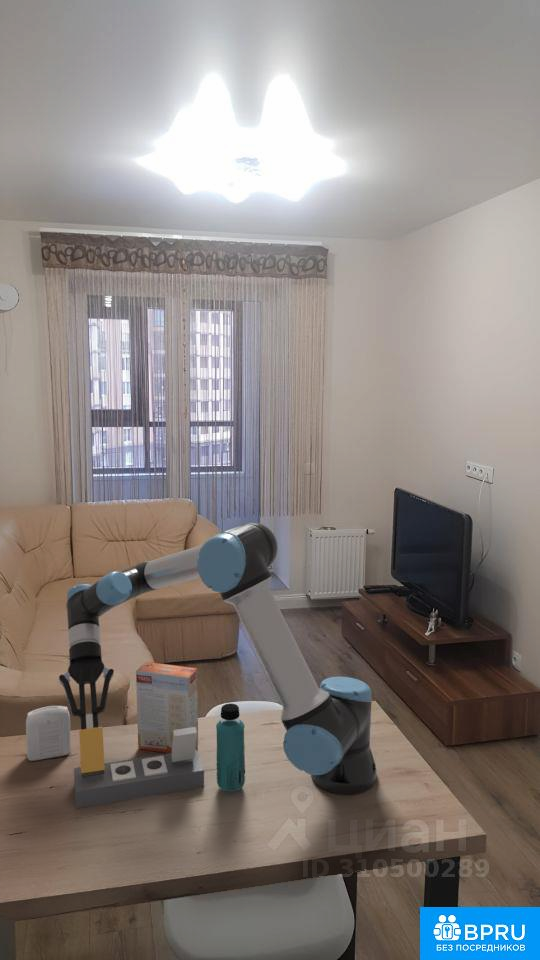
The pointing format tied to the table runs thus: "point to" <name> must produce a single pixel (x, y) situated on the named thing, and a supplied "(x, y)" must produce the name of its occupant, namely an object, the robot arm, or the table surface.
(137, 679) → the cracker box
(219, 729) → the beverage bottle
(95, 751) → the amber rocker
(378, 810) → the table surface
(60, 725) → the photo printer
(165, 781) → the power strip
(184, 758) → the block
